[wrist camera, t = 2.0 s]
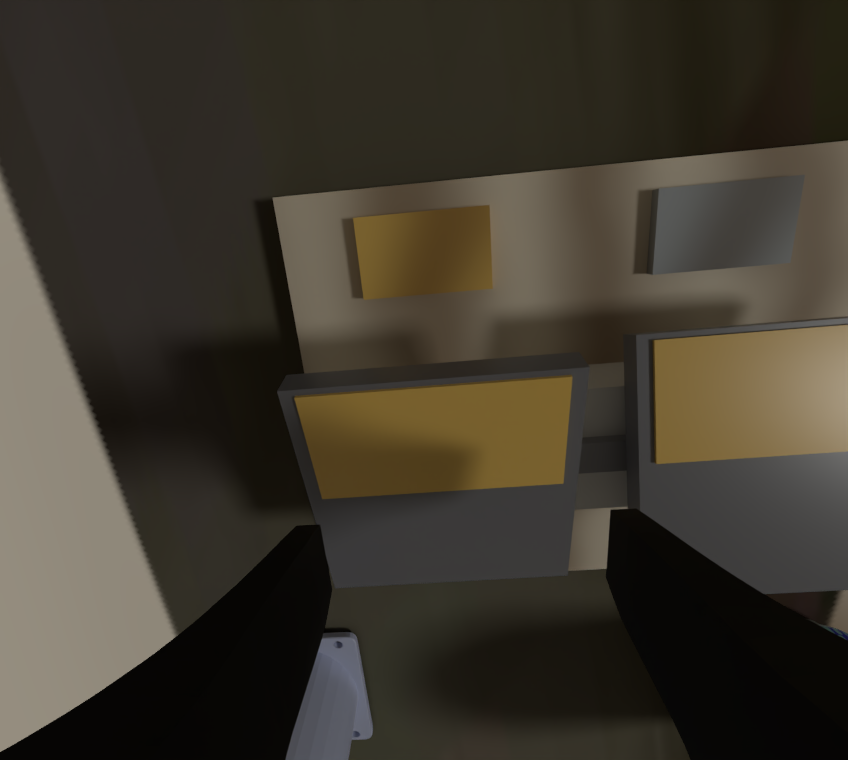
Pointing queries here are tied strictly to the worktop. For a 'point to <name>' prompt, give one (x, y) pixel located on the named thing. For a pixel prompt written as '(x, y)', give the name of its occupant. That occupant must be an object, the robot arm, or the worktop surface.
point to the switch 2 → (745, 446)
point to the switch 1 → (442, 467)
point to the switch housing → (603, 440)
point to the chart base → (566, 263)
